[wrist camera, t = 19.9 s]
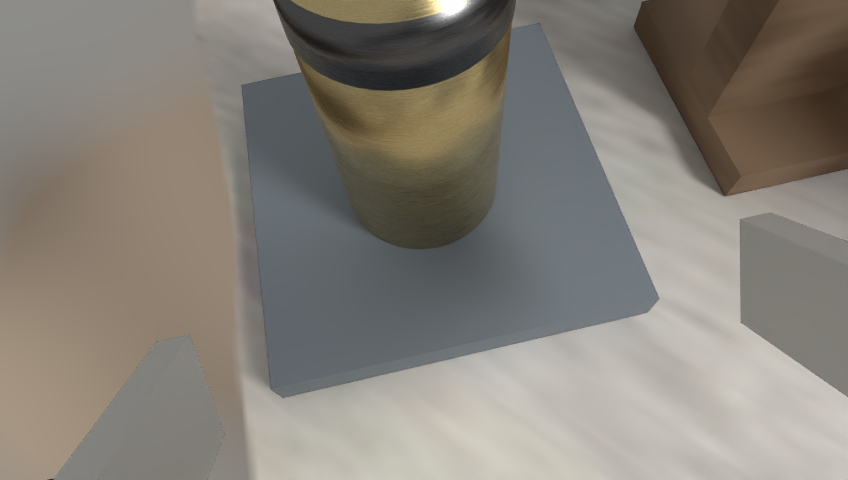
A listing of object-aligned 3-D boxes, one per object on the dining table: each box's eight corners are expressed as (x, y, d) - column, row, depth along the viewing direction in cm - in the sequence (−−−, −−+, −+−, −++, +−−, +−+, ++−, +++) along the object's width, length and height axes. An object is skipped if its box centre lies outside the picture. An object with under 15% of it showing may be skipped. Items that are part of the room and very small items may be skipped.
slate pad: (535, 47, 28) (539, 23, 26) (647, 312, 22) (659, 298, 20) (252, 106, 27) (241, 85, 26) (282, 397, 21) (270, 389, 20)
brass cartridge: (475, 107, 24) (484, -217, 14) (516, 230, 22) (567, -53, 11) (336, 138, 24) (233, -167, 13) (360, 266, 21) (253, 12, 11)
